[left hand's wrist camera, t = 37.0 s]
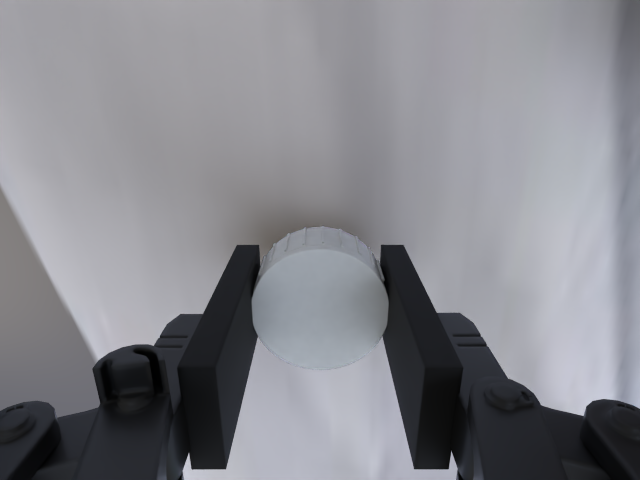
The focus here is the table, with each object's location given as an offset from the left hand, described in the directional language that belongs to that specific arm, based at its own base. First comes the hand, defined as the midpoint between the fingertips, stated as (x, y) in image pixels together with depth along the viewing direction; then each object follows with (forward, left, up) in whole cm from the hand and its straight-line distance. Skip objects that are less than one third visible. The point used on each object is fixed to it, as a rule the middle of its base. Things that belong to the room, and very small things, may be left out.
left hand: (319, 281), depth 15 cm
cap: (0, 0, +2) cm, 2 cm away
